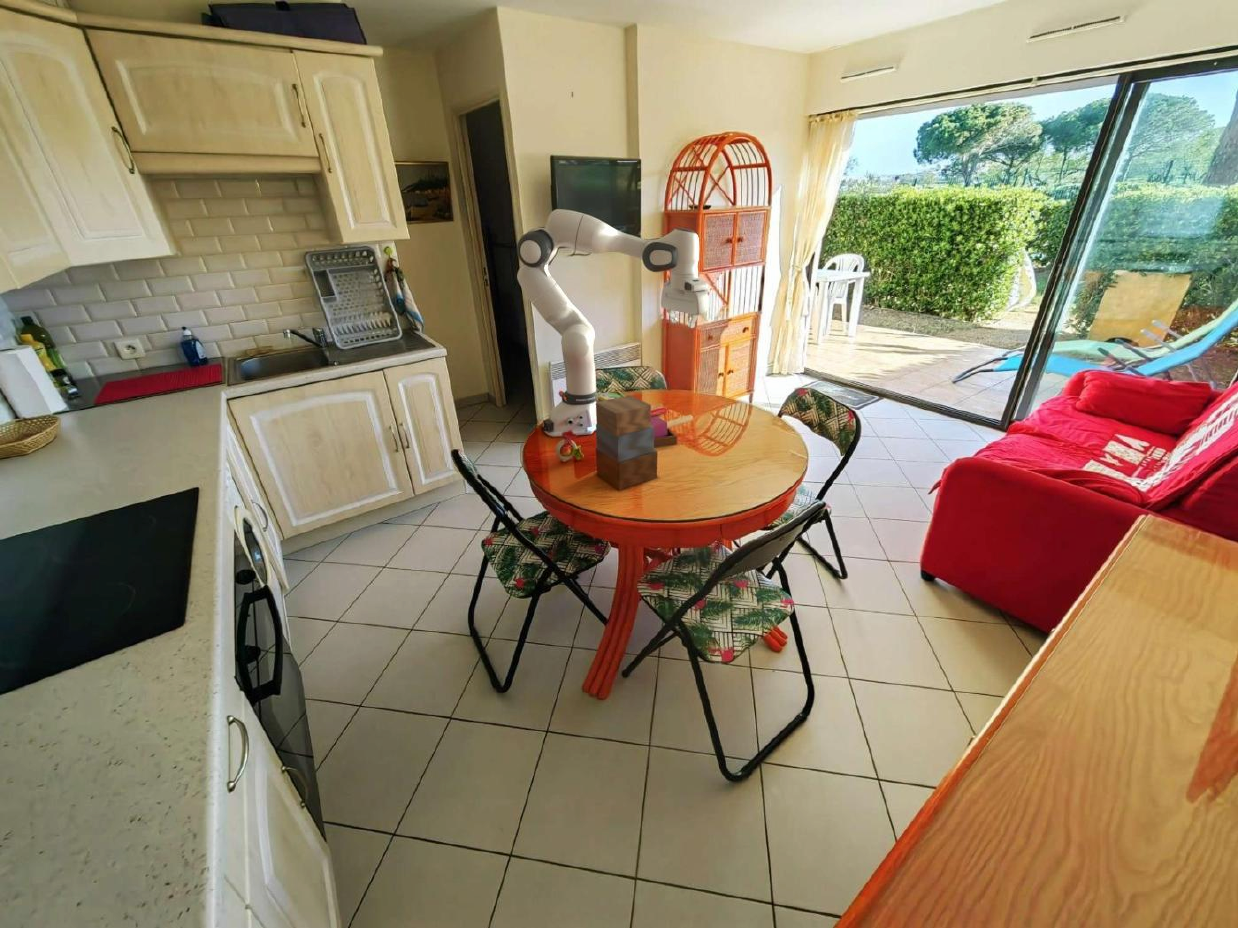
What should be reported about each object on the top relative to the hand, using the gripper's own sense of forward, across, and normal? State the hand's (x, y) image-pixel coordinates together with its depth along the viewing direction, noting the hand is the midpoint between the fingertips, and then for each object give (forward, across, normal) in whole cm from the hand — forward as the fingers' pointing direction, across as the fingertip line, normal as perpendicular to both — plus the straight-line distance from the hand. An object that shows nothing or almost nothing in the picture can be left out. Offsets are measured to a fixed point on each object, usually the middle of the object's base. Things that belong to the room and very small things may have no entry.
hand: (682, 325), depth 173 cm
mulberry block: (+38, +1, -5) cm, 38 cm away
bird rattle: (+39, -2, -45) cm, 60 cm away
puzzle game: (+39, -34, -5) cm, 53 cm away
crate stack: (+39, +18, -36) cm, 56 cm away
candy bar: (+39, -18, +1) cm, 43 cm away
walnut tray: (+39, 0, -14) cm, 42 cm away
